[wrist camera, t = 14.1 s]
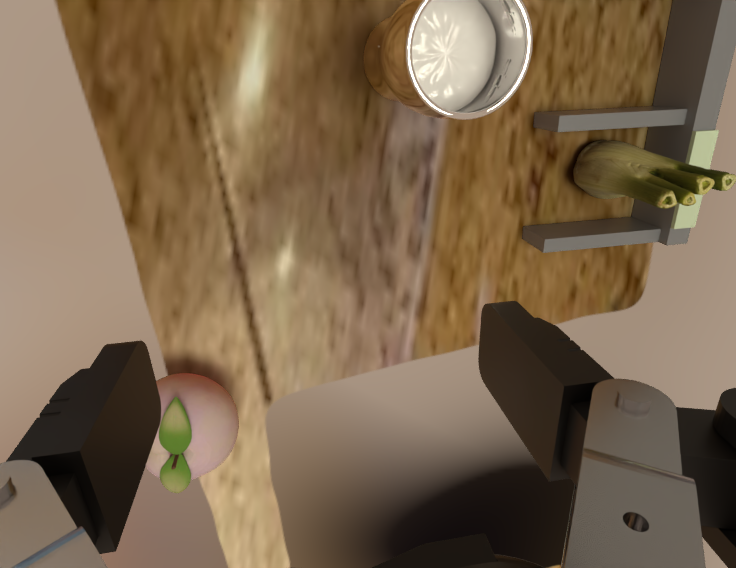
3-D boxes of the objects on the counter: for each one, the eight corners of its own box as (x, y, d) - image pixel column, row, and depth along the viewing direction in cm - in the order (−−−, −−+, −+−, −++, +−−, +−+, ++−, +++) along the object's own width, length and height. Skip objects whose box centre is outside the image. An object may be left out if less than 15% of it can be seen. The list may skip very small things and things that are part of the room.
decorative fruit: (248, 423, 48) (240, 504, 39) (162, 435, 47) (134, 520, 38) (235, 343, 44) (223, 411, 35) (142, 352, 43) (105, 426, 34)
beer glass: (452, 17, 37) (554, -18, 23) (435, 113, 39) (516, 132, 26) (363, -1, 35) (415, -48, 22) (351, 100, 38) (390, 114, 24)
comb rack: (548, -27, 37) (590, -43, 32) (700, -29, 38) (762, -44, 33) (522, 238, 45) (551, 258, 40) (647, 227, 47) (690, 244, 42)
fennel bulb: (632, 144, 43) (750, 167, 32) (611, 197, 45) (716, 236, 34) (576, 131, 42) (680, 151, 31) (557, 187, 44) (648, 224, 33)
